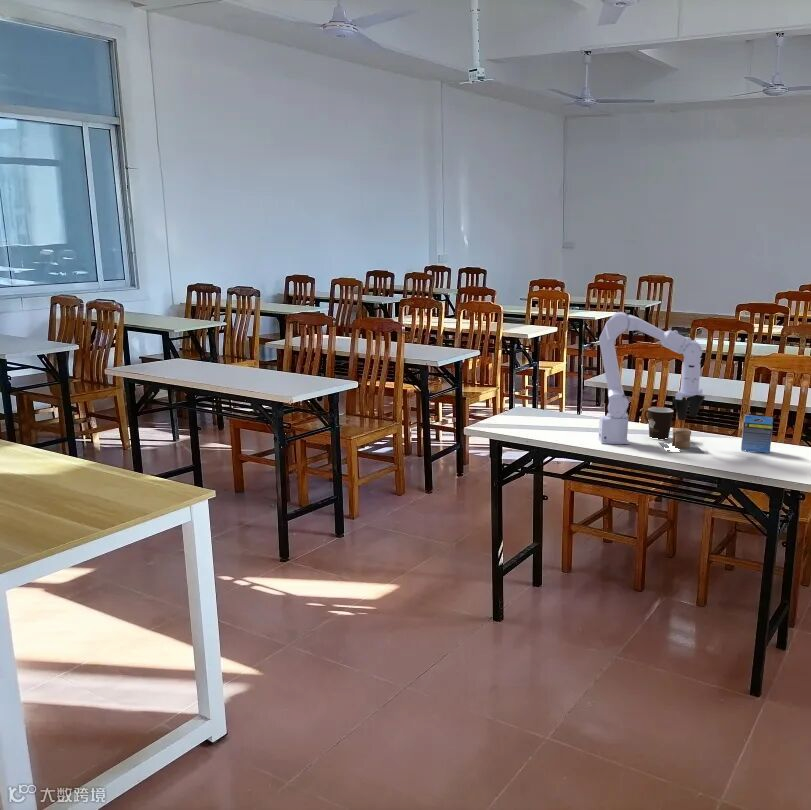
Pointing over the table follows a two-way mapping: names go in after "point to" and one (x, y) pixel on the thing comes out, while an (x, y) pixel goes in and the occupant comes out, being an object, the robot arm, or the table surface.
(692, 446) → the mat
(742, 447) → the label tape box
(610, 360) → the robot arm
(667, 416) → the coffee mug
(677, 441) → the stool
